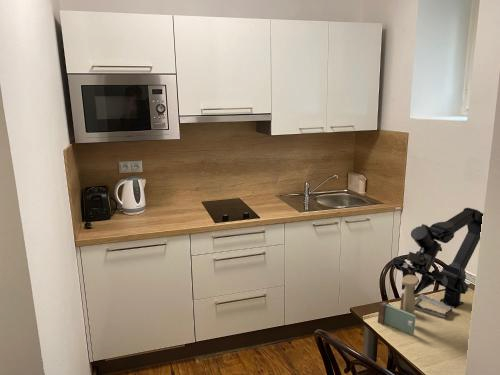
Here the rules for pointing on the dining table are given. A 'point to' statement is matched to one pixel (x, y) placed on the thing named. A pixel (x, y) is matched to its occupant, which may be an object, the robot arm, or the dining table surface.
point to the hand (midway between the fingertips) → (408, 291)
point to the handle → (409, 292)
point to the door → (399, 319)
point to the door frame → (382, 310)
